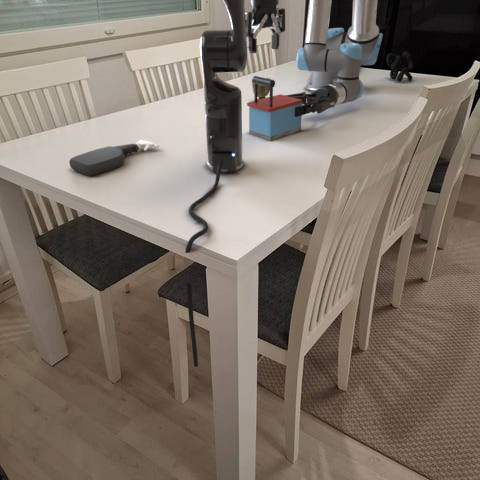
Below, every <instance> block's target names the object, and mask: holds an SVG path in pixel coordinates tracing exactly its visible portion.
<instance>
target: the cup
mask: <svg viewBox="0 0 480 480" xmlns="http://www.w3.org/2000/svg"><path fill="white" fill-rule="evenodd" d="M261 77H262V76H261ZM262 78H264V77H262ZM266 78H267V79H271V78H270V77H266ZM251 86H252V93H253V94H254V83H253V82H252V81H251ZM268 95H270V87H266V86H262V85H258V100H260V99H264V98H267V96H268Z"/></svg>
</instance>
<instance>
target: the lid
mask: <svg viewBox="0 0 480 480" xmlns="http://www.w3.org/2000/svg"><path fill="white" fill-rule="evenodd" d="M267 78H268V77H263V78H262V76H258V75H254V76H253V77H252V78H251V83H252V82H253V83H254V93H253V95H254V98H253V100H252V101H249V102H247V103H246V106H247V107H249V106H250V107H253V108H256V109H260V110H263V111H267V112H271V111H275V110H278V109H282V108H285V107H289V106H292V105H296V104H300V103H302V100H301V99H297V98H293V97H289V96H285V95H286V94H285V95H284V94H276V95H274V87H275V85H276V81H275V80H274V79H271V78H270V79H269V78H268V79H267ZM258 85H262V86H266V87H270V91H269V96H268V97H266V98H264V99H260V100H258Z"/></svg>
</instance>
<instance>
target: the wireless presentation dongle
mask: <svg viewBox="0 0 480 480" xmlns="http://www.w3.org/2000/svg"><path fill="white" fill-rule="evenodd" d="M159 148H160V145H159V144H158V143H155V142H151V141H148V140H144V139H139V140H138V141H137V142H135V143H129V144H128V143H126V144H122V145H113V146H105V147H100V148H97V149H94V150H90V151H87V152H83V153H81V154H78V155H74V156H73V157H70V159H69V161H68V162H69V167H70V168H71V169H72V170H74V171H75V172H78V173H81V174H83V175H85V176H89V177H90V176H91V177H92V176H95V175H99V174H102V173H105V172H107V171H110V170H113V169H116V168H118V167H120V166H122V165H123V164H124V163H125V158H126V156H127V155H131V154H133V153H138V151H140V150H143V151H144V152H146V151H147V150H149V149H159Z"/></svg>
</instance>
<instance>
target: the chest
mask: <svg viewBox="0 0 480 480" xmlns="http://www.w3.org/2000/svg"><path fill="white" fill-rule="evenodd" d="M300 106H303V104H302V103H300V104H296V105H292V106H289V107H285V108H282V109H278V110H275V111H271V112H267V111H263V110H260V109H256V108H253V107H250V106H248V134H250V135H253V136H256V137H259V138H262V139H265V140H267V141H273V140H276V139H280V138H282V137H286V136H289V135H291V134H294V133H297V132H300V131H302V115H301V116H298V117H295V108H296V107H300Z"/></svg>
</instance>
